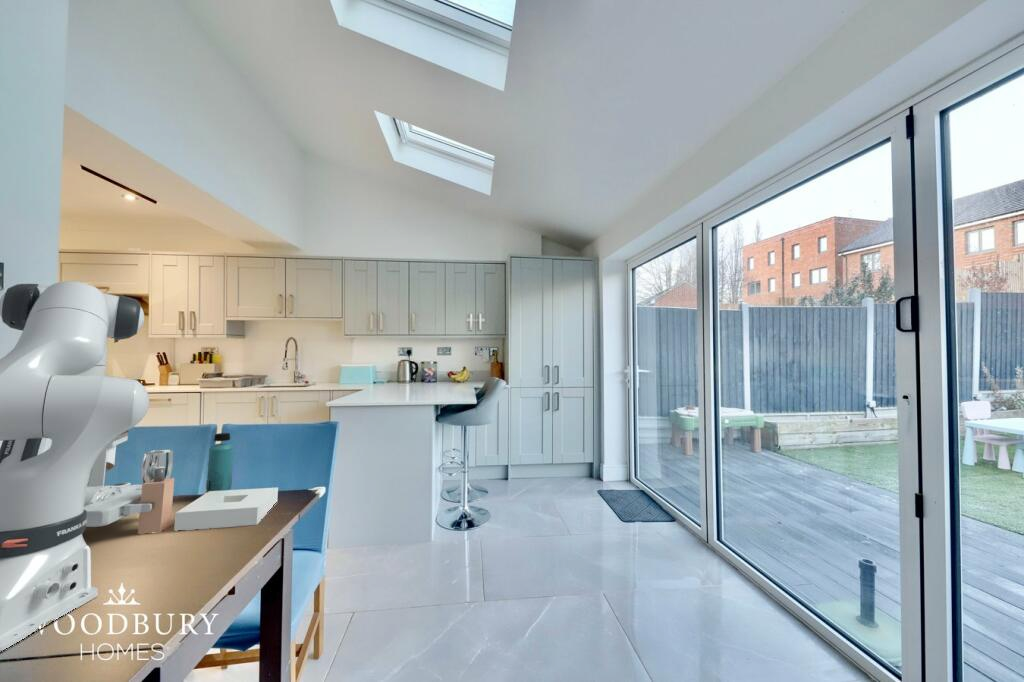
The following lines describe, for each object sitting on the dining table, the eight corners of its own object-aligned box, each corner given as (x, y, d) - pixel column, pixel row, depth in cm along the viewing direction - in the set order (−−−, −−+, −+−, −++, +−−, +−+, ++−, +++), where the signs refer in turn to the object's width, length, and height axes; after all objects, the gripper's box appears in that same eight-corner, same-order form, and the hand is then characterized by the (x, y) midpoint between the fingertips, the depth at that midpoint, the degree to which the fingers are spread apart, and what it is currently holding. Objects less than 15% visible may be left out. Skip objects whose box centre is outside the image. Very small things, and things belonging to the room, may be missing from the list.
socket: (256, 524, 101) (257, 507, 102) (173, 531, 96) (175, 512, 97) (277, 502, 119) (278, 487, 119) (208, 507, 114) (209, 491, 114)
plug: (160, 532, 95) (165, 470, 97) (137, 534, 94) (143, 471, 95) (170, 525, 100) (175, 466, 101) (149, 527, 98) (154, 467, 100)
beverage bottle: (235, 494, 125) (240, 432, 127) (218, 501, 118) (223, 435, 120) (217, 493, 126) (222, 431, 127) (198, 500, 119) (204, 434, 121)
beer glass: (146, 499, 119) (151, 449, 120) (174, 498, 121) (178, 449, 122) (132, 507, 112) (137, 454, 113) (161, 505, 114) (166, 453, 116)
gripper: (56, 506, 85) (130, 503, 88) (128, 480, 105) (187, 479, 108) (53, 536, 85) (127, 532, 87) (126, 504, 105) (185, 502, 107)
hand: (161, 502), depth 98 cm, fingers closed on plug, 5 cm apart
